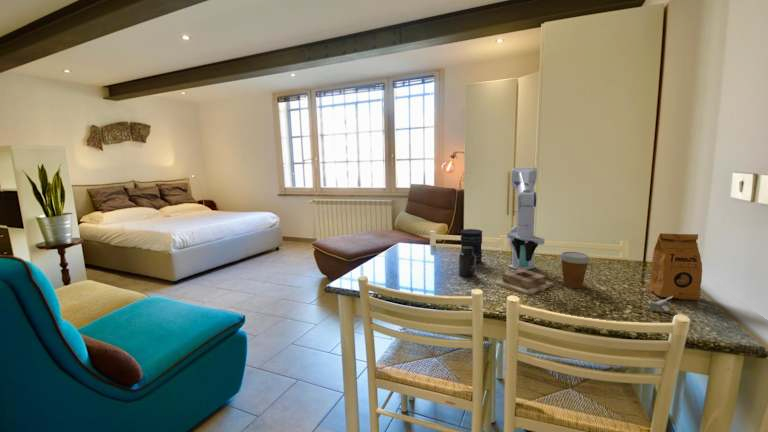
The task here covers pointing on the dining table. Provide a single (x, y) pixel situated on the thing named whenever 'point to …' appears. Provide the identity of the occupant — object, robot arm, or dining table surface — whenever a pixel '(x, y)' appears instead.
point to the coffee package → (676, 267)
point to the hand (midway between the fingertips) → (524, 259)
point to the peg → (523, 256)
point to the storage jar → (472, 242)
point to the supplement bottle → (467, 262)
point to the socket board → (521, 290)
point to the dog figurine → (660, 304)
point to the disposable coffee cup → (574, 268)
